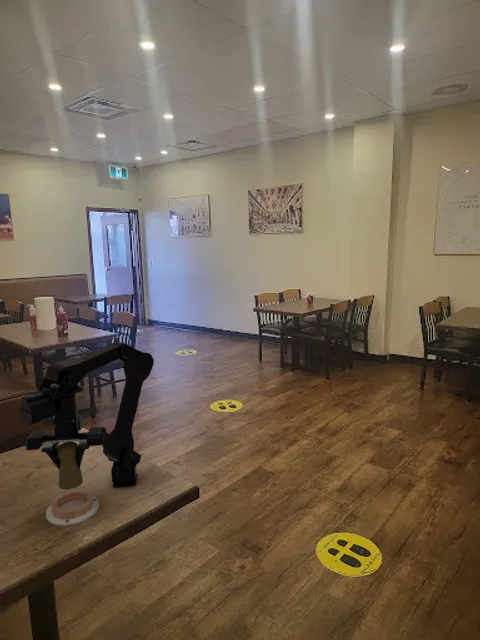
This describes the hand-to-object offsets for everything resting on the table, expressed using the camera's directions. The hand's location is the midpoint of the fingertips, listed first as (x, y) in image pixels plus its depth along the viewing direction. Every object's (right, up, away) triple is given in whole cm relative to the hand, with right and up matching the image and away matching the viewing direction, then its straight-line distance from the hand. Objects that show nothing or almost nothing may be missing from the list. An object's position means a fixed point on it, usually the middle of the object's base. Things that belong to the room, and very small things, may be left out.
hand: (69, 468), depth 113 cm
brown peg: (0, -4, +1) cm, 4 cm away
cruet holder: (0, -12, +2) cm, 12 cm away
